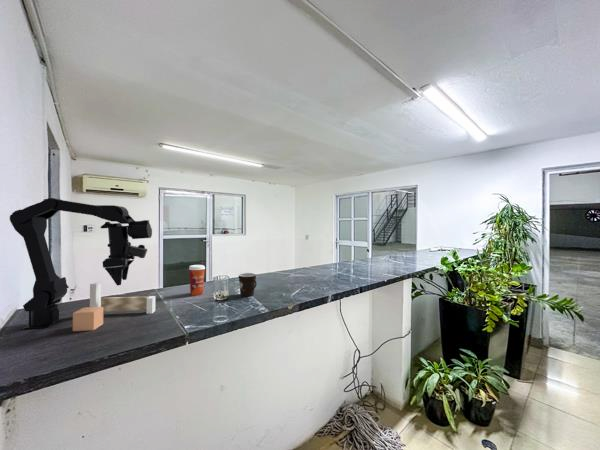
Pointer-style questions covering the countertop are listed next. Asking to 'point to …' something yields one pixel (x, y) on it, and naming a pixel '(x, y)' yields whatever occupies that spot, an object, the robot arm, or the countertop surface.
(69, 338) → the countertop surface
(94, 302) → the twin post hurdle
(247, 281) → the coffee mug
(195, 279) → the paper cup
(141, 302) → the gate
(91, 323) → the doorstop block
